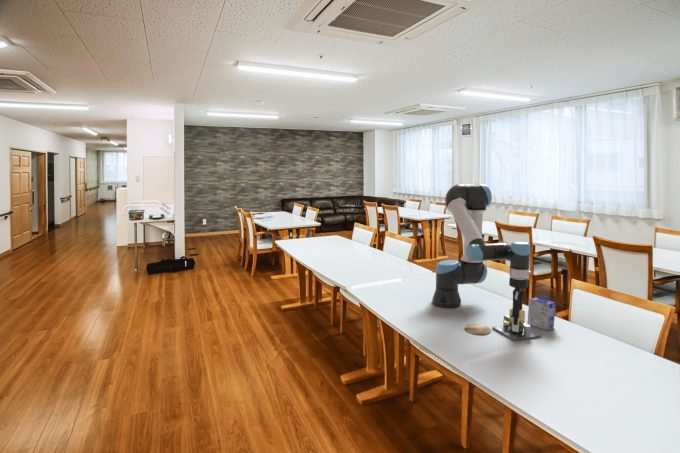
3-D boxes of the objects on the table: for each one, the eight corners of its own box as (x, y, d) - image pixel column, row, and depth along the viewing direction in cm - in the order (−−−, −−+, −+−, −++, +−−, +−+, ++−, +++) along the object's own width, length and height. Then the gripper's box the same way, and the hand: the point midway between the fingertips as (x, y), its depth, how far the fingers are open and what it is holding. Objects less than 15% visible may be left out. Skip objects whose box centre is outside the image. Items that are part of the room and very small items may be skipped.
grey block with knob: (492, 328, 174) (492, 316, 173) (518, 325, 178) (518, 313, 177) (514, 341, 160) (514, 328, 160) (541, 337, 164) (542, 324, 163)
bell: (503, 326, 169) (503, 310, 168) (505, 321, 174) (506, 306, 173) (528, 330, 163) (529, 315, 163) (529, 326, 168) (530, 310, 168)
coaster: (460, 326, 177) (460, 325, 177) (480, 324, 180) (480, 322, 180) (474, 336, 166) (474, 334, 166) (496, 333, 169) (496, 331, 169)
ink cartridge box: (554, 328, 174) (556, 297, 172) (547, 331, 171) (549, 299, 169) (533, 321, 182) (535, 292, 180) (527, 324, 179) (528, 294, 177)
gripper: (525, 284, 156) (523, 338, 159) (531, 273, 172) (528, 323, 175) (506, 281, 160) (503, 334, 163) (512, 271, 176) (510, 320, 179)
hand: (516, 328), depth 169 cm, fingers closed on bell, 6 cm apart
